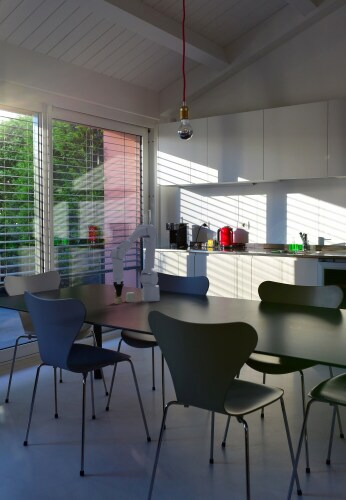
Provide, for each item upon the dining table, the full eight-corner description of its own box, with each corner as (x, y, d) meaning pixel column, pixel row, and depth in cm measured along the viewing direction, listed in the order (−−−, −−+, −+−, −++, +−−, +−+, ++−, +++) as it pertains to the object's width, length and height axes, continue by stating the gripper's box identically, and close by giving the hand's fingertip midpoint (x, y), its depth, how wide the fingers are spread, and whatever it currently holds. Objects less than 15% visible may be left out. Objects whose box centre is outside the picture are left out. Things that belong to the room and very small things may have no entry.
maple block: (121, 302, 295) (121, 290, 294) (122, 303, 291) (121, 291, 290) (114, 302, 294) (114, 290, 294) (115, 303, 290) (114, 291, 290)
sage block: (132, 300, 301) (132, 292, 300) (134, 301, 297) (134, 292, 297) (126, 301, 299) (125, 292, 299) (128, 302, 296) (128, 293, 295)
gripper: (110, 269, 288) (111, 293, 289) (110, 272, 274) (111, 298, 275) (123, 269, 289) (123, 293, 290) (124, 272, 275) (124, 297, 275)
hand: (118, 295), depth 282 cm, fingers open, 7 cm apart
